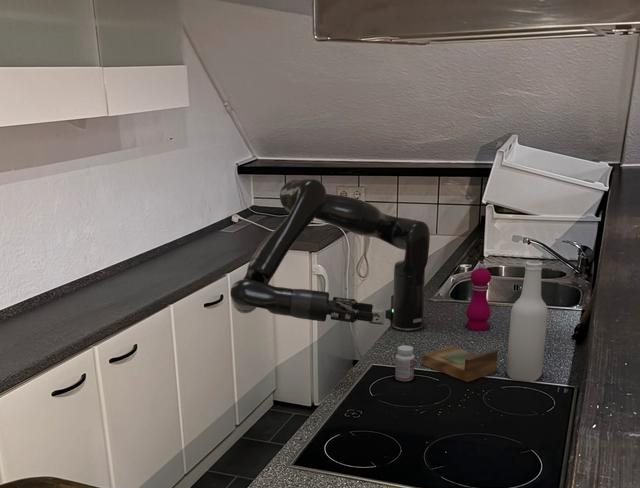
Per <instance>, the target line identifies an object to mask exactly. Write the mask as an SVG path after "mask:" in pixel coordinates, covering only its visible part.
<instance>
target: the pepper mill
mask: <svg viewBox="0 0 640 488" xmlns="http://www.w3.org/2000/svg"><path fill="white" fill-rule="evenodd" d="M491 280H492V273H491V272H490V271H489V270H488V269H487V268H485V264H484V263H479V265H478V268H476V269H473V271H472V272H471V273H470V281H471V282H472V284H471V290H472V298H471V300H470V303H469V304H468V306H467V308H466V313H465V316H466V317H467V322H466V327H467V329H469V330H474V331H485V330H487V329H488V328H489V321H488V320H489V319H490V317H491V307H490V305H489V302H488V298H487V294H488V290H490V288H489V287H490V285H489V283H490V282H491Z"/></svg>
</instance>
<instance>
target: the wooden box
mask: <svg viewBox="0 0 640 488" xmlns="http://www.w3.org/2000/svg"><path fill="white" fill-rule="evenodd" d="M498 353H499V351H498V350H496V349H492V350H489V351H485V352H483V353H480V354H479V353H478V354H476V353H473V352H471V351H468V350H465V349H462V348H459V347H456V346H453V345H448V346H446V347H443V348H439V349H436V350H432V351H430V352H426V353H423V354H422V366H424V367H426V368H427V367H428V368H430V369H432V370H435V371H437V372H440V373H443V374H445V375H447V376H449V377H453V378H456V379H458V380H461V381H463V382H465V383H470V382H472V381H474V380H477V379H481V378H484V377H486V376H489V375H492V374H495V373H497V364H498Z"/></svg>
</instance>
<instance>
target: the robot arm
mask: <svg viewBox="0 0 640 488" xmlns="http://www.w3.org/2000/svg"><path fill="white" fill-rule="evenodd" d="M279 201H280V204H281V205H282V207H283V209H284V210H285V211H286V212H287V213H289V214H288V215H287V216H286V218H285V219H284V220H283V221H282V222H281V223H280V224H279V225H278V226H277V227H276V228H275V229H274V230H273V231H272V232H271V233H270V234H269V235H267V236H266V237H265V238H264V240H263V241H262V242H261V243H260V245H259V246H258V247H257V249H256V251H255V253H254V254H253V256H251V259H250V261H249V262H248V265H247V269H246V273H245V276H244V277H243V279H239V280H238V281H235V282H234V283H233V284H232V286H231V288H230V298H231V303H232V305H233V307H234V309H235V310H236V311H237V312H239V313H240V314H250V313H252V312H254V311H255V310H256V309H257V308H258V309H264V310H267V311H268V312H269V313H270V314H273V315H277V316H286V317H292V318H296V319H300V320H307V321H315V322H326V320H327V316H330V320H332V321H339V322H346V323H352V324H354V323H355V322H358V321H362V322H370V323H371V322H373V321H374V312H373V308H374V306H373V304H371V303H364V302H359V301H357V299H355V298H346V297H337V296H333V298H332V299H330V293H329V292H328V291H321V290H315V289H306V288H291V287H290V288H289V287H283V286H274V285H271V284H270V282H271V280H272V279H273V278H274V275H275V274H276V272H277V270H278V269H279V267H280V266H281V264H282V262H283V260H284V259H285V257H286V256H287V254H288V252H289V251H290V249H291V248H292V247H293V245H294V244H295V243H296V241H297V240H298V239H299V238H300V236H301V235H302V234H303V232H304V231H305V230H306V229H307V228H308V227H309V225H310V224H311V222H313V220H314V219H316V220H319V221H322V222H325V223H327V224H329V225H331V226H333V227H336V228H338V229H342V230H344V231H346V232H349V233H353V234H354V235H358V236H362V237H368V238H375V239H378V240H380V241H383V242H384V243H387V244H388V245H390V246H393V247H394V248H397V249H399V250H402V251H405V253H404V259H403V260H398V261H396V262H395V263H394V264H393V294H392V295H391V296H390V308H389V309H385V314H384V315H385V316H384V317H385V319H387V320H389V322H390V326H391V327H392V329H395V330H397V331H401V332H414V331H419V330H421V329H423V328H424V302H425V301H424V300H425V276H426V275H425V274H426V267H427V265H428V262H429V261H428V260H429V253H430V252H429V251H430V241H431V232H430V228H429V226H428V224H427V223H426V222H424V221H422V220H417V219H412V218H408V217H407V218H406V217H398V216H393V215H389V214H386V213H384V212H382V211H381V210H380V209H379V208H378V207H377V206H375V205H373V204H372V203H370V202H367V201H365V200H362V199H359V198H355V197H350V196H345V195H339V194H332V193H327V190H326V187H325V185H324V184H323V182H321V181H320V180H318V179H314V178H297V179H292V180H290V181H287V182H286V183H285V184H284V185H283V186H282V187H281V189H280V192H279ZM393 324H394V325H393Z"/></svg>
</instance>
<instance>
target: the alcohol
mask: <svg viewBox="0 0 640 488" xmlns="http://www.w3.org/2000/svg"><path fill="white" fill-rule="evenodd" d="M543 265H544V264H543V262H542V261H540V260H527V261H526V262H525V266H524V270H525V271H524V278H523V283H522V290H521V294H520V297H519V298H518V299H517V300H516V301H515V302H513V304H512V306H511V307H512V308H511V311H510V320H509V321H510V322H509V331H508V332H509V333H508V334H509V335H508V343H507V344H508V346H507V356H506V366H505V367H506V368H505V369H506V370H505V372H506V374H507V376H508V378H510V379H513V380H515V381H520V382H534V381H537V380H539V379H540V378H541V377H542V376H543V375H542V374H543V365H544V356H545V348H546V347H545V346H546V345H545V344H546V338H547V337H546V336H547V327H548V318H549V310H548V305H547V304H546V302H545V301H544V300H543V297H542V270H543Z"/></svg>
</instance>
